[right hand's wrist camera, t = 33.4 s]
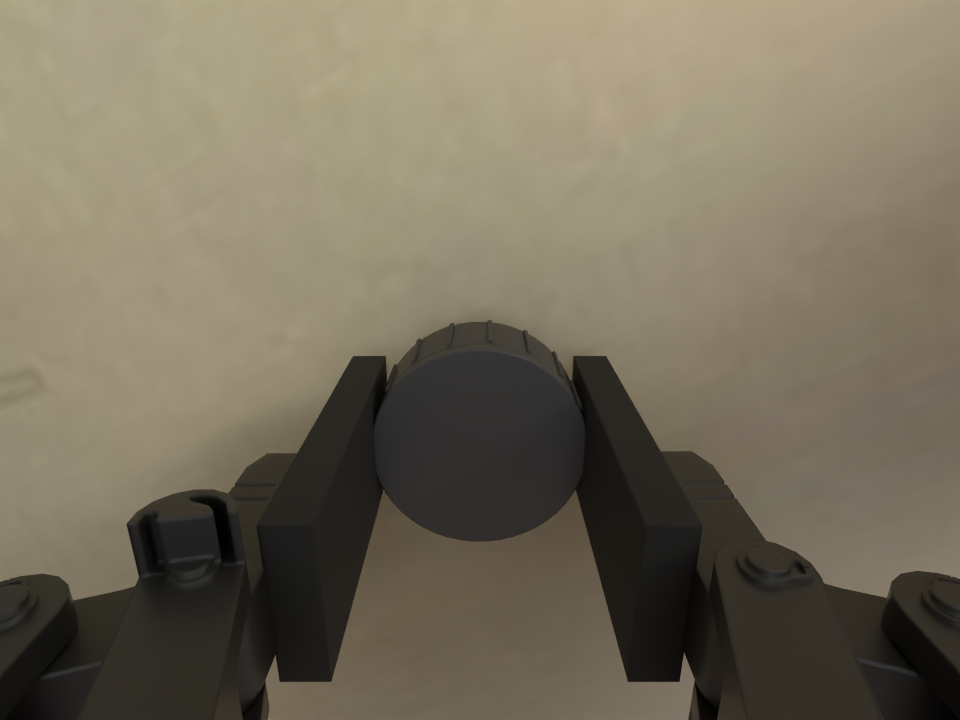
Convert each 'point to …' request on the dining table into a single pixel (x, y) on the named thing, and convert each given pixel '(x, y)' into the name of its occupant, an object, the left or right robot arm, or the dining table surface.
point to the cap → (479, 433)
